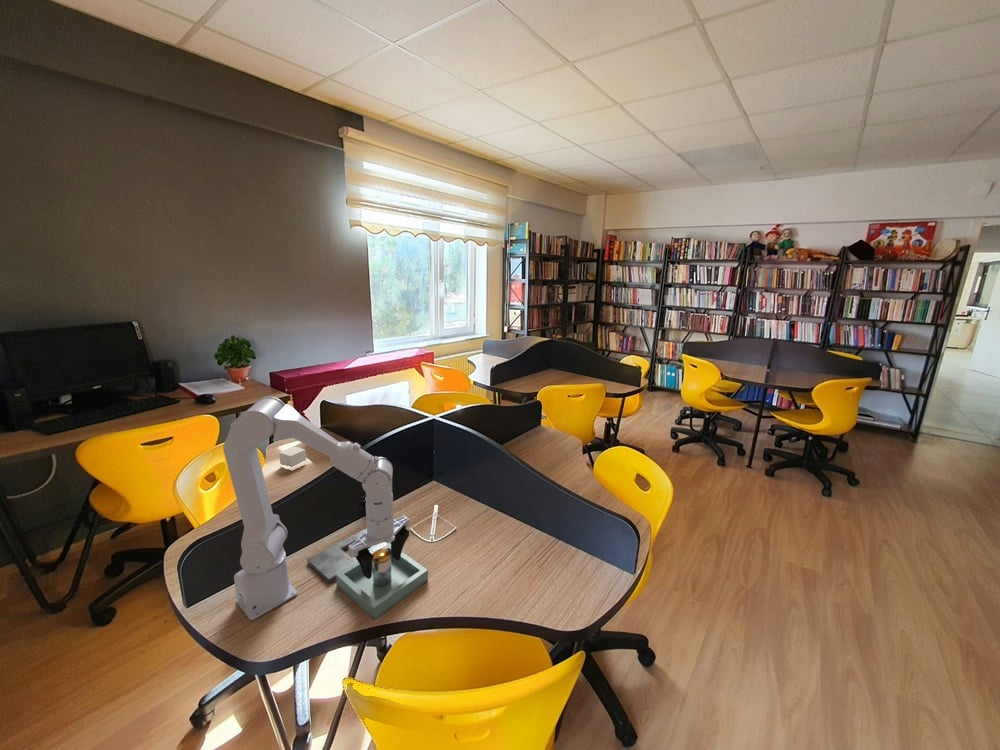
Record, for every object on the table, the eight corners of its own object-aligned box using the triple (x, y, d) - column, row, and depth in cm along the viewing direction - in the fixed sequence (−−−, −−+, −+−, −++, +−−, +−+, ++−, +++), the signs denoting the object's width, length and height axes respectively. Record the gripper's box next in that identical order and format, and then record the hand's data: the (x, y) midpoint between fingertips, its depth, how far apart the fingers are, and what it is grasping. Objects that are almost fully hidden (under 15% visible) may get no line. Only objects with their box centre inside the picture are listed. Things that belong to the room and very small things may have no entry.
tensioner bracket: (329, 583, 92) (328, 579, 92) (307, 563, 98) (307, 559, 98) (400, 541, 107) (400, 537, 107) (378, 525, 113) (377, 522, 113)
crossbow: (455, 545, 108) (455, 539, 108) (407, 546, 107) (407, 540, 106) (457, 508, 123) (457, 502, 123) (415, 509, 122) (415, 503, 122)
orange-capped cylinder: (379, 590, 90) (378, 563, 88) (369, 581, 92) (368, 554, 91) (395, 580, 93) (394, 554, 91) (384, 571, 95) (384, 546, 94)
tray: (374, 620, 83) (373, 608, 82) (336, 585, 91) (335, 574, 91) (427, 580, 94) (427, 569, 93) (389, 553, 102) (389, 543, 102)
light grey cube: (292, 471, 141) (290, 456, 140) (280, 467, 144) (278, 452, 142) (306, 464, 147) (305, 449, 145) (295, 461, 149) (293, 446, 148)
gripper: (360, 537, 80) (364, 594, 84) (417, 506, 91) (418, 558, 95) (341, 523, 85) (345, 578, 88) (398, 495, 96) (399, 545, 99)
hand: (382, 566), depth 92 cm, fingers open, 7 cm apart
